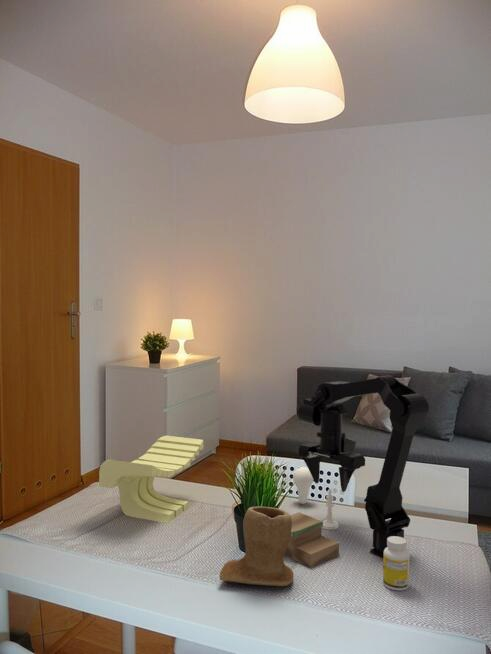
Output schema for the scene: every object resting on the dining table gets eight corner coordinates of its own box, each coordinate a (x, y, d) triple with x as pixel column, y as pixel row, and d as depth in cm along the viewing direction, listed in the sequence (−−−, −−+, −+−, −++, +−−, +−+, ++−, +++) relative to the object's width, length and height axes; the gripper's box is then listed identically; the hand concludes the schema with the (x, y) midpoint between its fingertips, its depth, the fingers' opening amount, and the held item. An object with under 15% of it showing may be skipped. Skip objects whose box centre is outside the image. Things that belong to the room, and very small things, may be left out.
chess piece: (317, 527, 152) (318, 490, 151) (323, 521, 156) (324, 485, 156) (335, 531, 149) (335, 493, 149) (340, 524, 154) (341, 488, 153)
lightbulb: (312, 508, 166) (313, 470, 165) (291, 506, 167) (292, 469, 166) (314, 501, 172) (314, 465, 171) (293, 499, 173) (294, 463, 172)
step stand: (338, 555, 135) (339, 528, 135) (309, 567, 128) (309, 539, 128) (298, 537, 145) (299, 512, 144) (269, 548, 138) (269, 522, 138)
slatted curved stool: (156, 490, 179) (157, 434, 178) (202, 497, 173) (203, 439, 172) (98, 524, 151) (99, 458, 150) (151, 534, 145) (152, 465, 144)
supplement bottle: (389, 576, 125) (390, 532, 124) (413, 584, 121) (414, 539, 121) (378, 585, 121) (379, 540, 120) (402, 594, 117) (403, 547, 117)
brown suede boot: (295, 568, 128) (296, 502, 127) (291, 595, 116) (293, 522, 115) (228, 562, 130) (230, 497, 130) (218, 588, 118) (219, 517, 118)
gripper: (378, 430, 150) (377, 489, 151) (323, 420, 164) (322, 473, 165) (352, 436, 143) (351, 498, 143) (297, 424, 157) (296, 481, 157)
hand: (330, 487), depth 152 cm, fingers open, 9 cm apart
